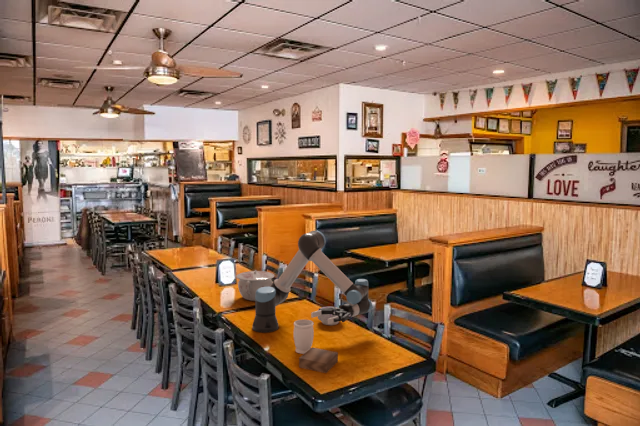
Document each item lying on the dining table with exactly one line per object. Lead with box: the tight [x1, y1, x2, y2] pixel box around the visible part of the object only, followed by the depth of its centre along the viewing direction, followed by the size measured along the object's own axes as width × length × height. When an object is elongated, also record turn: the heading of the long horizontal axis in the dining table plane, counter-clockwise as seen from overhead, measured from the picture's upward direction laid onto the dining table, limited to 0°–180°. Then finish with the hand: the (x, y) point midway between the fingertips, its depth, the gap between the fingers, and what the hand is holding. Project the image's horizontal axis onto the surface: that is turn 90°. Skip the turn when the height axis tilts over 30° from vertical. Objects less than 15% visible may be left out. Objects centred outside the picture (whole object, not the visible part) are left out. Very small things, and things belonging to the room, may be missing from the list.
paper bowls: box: [317, 306, 340, 326], centre depth 276 cm, size 15×15×8 cm
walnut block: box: [298, 347, 339, 374], centre depth 218 cm, size 14×14×5 cm
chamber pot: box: [235, 269, 275, 302], centre depth 325 cm, size 28×28×21 cm
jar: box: [293, 319, 315, 355], centre depth 233 cm, size 11×10×15 cm
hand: (319, 318), depth 238 cm, fingers open, 13 cm apart
